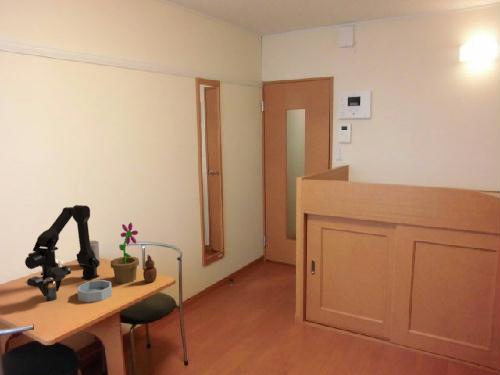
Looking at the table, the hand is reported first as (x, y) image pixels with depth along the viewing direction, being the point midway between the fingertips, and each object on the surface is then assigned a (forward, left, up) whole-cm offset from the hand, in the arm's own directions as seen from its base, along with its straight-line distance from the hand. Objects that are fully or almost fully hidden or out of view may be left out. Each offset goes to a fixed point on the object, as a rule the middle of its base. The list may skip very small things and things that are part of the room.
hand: (51, 293), depth 183 cm
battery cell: (0, 0, -2) cm, 2 cm away
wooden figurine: (-37, +27, -3) cm, 46 cm away
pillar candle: (-40, -19, -3) cm, 44 cm away
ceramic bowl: (-12, +15, -2) cm, 19 cm away
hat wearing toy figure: (-18, -21, -3) cm, 28 cm away
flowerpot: (-33, +14, -3) cm, 36 cm away
